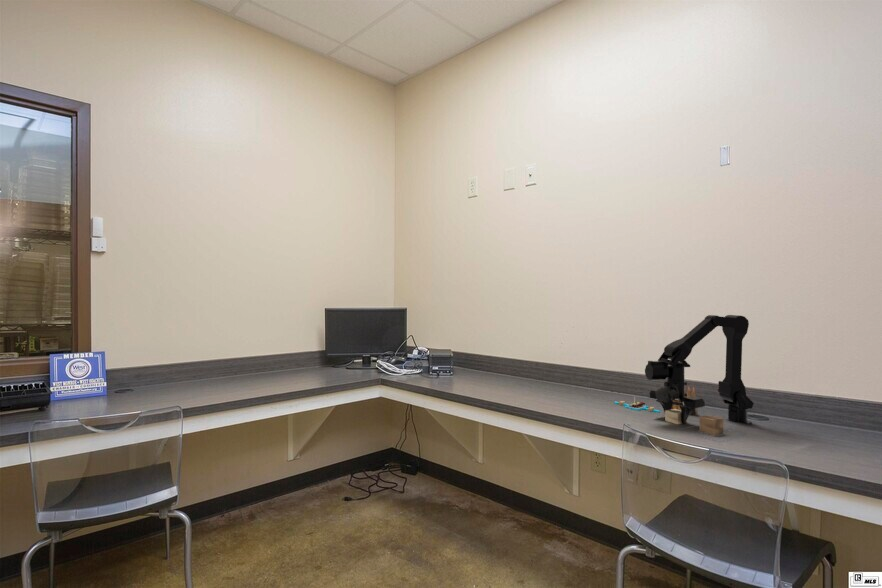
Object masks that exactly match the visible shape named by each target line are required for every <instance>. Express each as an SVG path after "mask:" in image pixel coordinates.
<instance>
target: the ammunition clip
mask: <svg viewBox="0 0 882 588" xmlns="http://www.w3.org/2000/svg"><path fill="white" fill-rule="evenodd" d="M686 389H687V390H686ZM685 393H687V396H685V398H688V397H697V394H696V388H695V386H693V387H692V390H691V387H690V386H689V385H688V387H687V388H686V386H685ZM678 399H679V398H678ZM681 405H683V402H679V401H675V400H673V402H672V409H677V410H681V408H680V407H679V406H681ZM689 416H695V417H696V416H698V408H693V410H692V411H691V413H690V415H689Z"/></svg>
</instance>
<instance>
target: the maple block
mask: <svg viewBox="0 0 882 588" xmlns="http://www.w3.org/2000/svg"><path fill="white" fill-rule="evenodd" d="M664 419H665V422H668V423H671V424H675V425H681V424H682V420H681V410H677V409H670V410H665V412H664ZM687 422H688V419H687V420H686V422H685V424H686V423H687ZM682 425H683V424H682Z"/></svg>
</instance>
